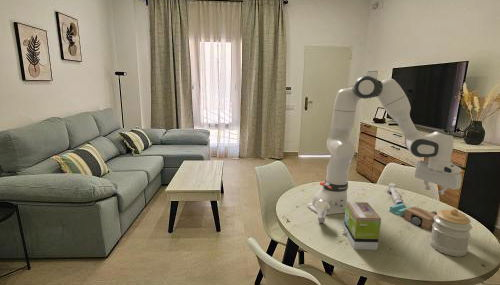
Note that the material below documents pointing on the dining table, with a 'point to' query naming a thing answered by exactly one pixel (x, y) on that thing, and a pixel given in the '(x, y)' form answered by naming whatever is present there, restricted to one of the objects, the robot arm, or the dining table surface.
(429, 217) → the bearing block
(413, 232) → the dining table surface
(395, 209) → the u channel
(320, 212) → the light bulb
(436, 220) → the jar
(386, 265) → the dining table surface
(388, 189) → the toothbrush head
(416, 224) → the axle
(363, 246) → the tea box
